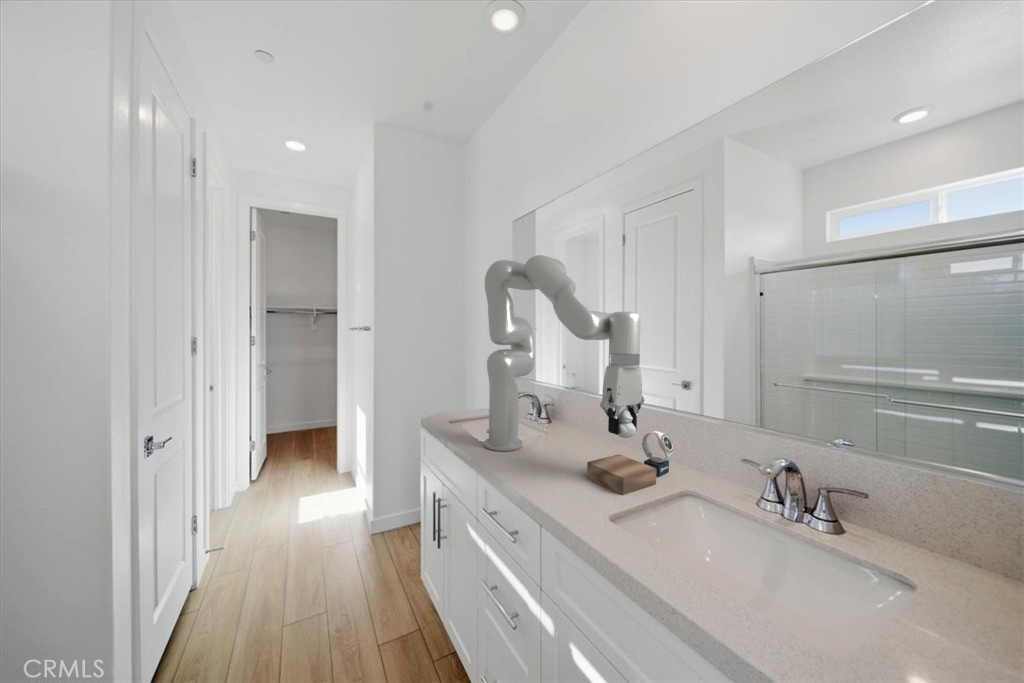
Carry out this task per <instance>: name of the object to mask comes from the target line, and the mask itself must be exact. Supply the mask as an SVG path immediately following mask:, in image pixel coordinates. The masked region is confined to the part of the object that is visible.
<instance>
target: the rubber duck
mask: <svg viewBox="0 0 1024 683" xmlns="http://www.w3.org/2000/svg"><path fill="white" fill-rule="evenodd" d="M618 418H619V419H620V433H619V434H618V435H617V436H618V437H620V438H624V439H630V438H632V437H633V436H634V435H636V432H637V430H636V428H635V426H634V425H633V424H632V423H630V422H631V421H632V419H633V418H632V417H631V415H630V412H629V411H628V410H627V406H625V408H624V409H622V411H620V412H619V415H618Z"/></svg>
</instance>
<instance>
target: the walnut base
mask: <svg viewBox="0 0 1024 683" xmlns="http://www.w3.org/2000/svg"><path fill="white" fill-rule="evenodd" d="M586 467H587V468H586V477H587V478H588V479H590V480H592V481H594V482H596V483H597V484H600V485H602V486H604V487H606V488H608V489H610V490H612V491H614V492H616V493H618V494H620V495H622V496H625V495H629V494H630V493H634V492H637V491H640V490H643V489H646V488H649V487H652V486H656V485H657V476H656V468H654V467H651V466H649V465H646V464H644V462H640V461H638V460H636V459H632V458H630V457H628V456H624V455H622V454H615V455H610V456H607V457H603V458H597V459H593V460H589V461H587V463H586Z"/></svg>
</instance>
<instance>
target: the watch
mask: <svg viewBox="0 0 1024 683" xmlns="http://www.w3.org/2000/svg"><path fill="white" fill-rule="evenodd" d="M651 434H653V435H656V437H657V442H658V445H659V447H660V449H661V451H662V452H664V456H666V457H665V458H660V457H657V456H654V455H653V452H652V450H651V447H650V444H649V442H648V438H649V436H650V435H651ZM641 446H642V449H643V452H644V454H645V455H646V457H647V458H648V459H645V460H644V461H643V464H646V465H649V466H651V467H654V468H656V478H657V477H658V478H661V477H663V476H664V475H666V474H668V473H669V472H670V460H669V459H671V457H672V455H673V453H674V449H675V447H674V444H673V440H672V439H671V437H670V436H669V435H667V434H666V433H664V432H661V431H659V430H654V431H651V432H648V433H645V434H644V436H643V438H642V442H641Z"/></svg>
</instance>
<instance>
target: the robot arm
mask: <svg viewBox="0 0 1024 683" xmlns="http://www.w3.org/2000/svg"><path fill="white" fill-rule="evenodd" d="M576 287H577V286H576V283H575V281H574V280H572V278H570V277H569V276H568V275H567V268H566V266H565V265H564V263H563V262H562V261H560V260H559V259H556V258H552V257H550V256H546V255H539V254H537V255H534V256H532V257H529V259H528V260H527V261H526V262H525V263H522V262H518V261H515V260H510V259H509V260H507V259H502V260H501V259H500V260H496V261H495V262H493V263H492V264H490V266H489V268H488V269H487V270H486V273H485V277H484V292H485V298H486V302H487V317H488V318H487V319H488V333H489V338H490V341H492V343H493V344H495V345H498V346H510V348H504V349H503V348H501V349H498V350H495V351H493V352H491V353H490V354H489V356H488V357H487V360H486V371H487V376H488V383H489V384H488V386H489V387H488V388H489V399H488V400H489V404H488V405H489V407H488V408H489V409H488V412H489V413H488V415H489V416H488V418H489V419H488V429H486V433H487V434H488V438H486V439H485V440H484V441H483V442H484V444H483V445H484V447H485V448H487V449H489V450H491V451H496V452H509V451H516V450H519V449H521V448H522V447H523V441H522V440H521V439H520V438H519V437H518V436H519V433H518V432H519V388H518V385H517V383H516V379H515V378H519V377H526V376H529V374H531V373H532V372H533V369H534V368H535V350H534V349H535V347H534V334H533V328H532V327H531V324H530V322H529V321H528V320H527V319H526V318H523V317H520V316H519V317H518V316H515V311H514V310H515V309H514V308H515V307H514V301H513V298H512V296H511V294H510V292H509V290H508V289H514V290H522V291H534V290H539V291H540V292H541V293H542V294H543V295H544V297H545V298H547V300H549V301H550V303H551V304H552V308H553V310H554V313H555V315H556V317H557V319H558V320H559V321H560V323H561V324H562V325H564V327H565V328H566V329H567V330H568V331H569V332H570V333H571V334H572V335H574V336H575V337H576V338H578V339H579V340H583V341H607V340H608V365H606V366H605V370H604V376H603V383H602V398H601V402H600V403H599V406H600V408H601V409H602V410H603V411H604V413H605V414H606V416H607V417H608V419H607V420H608V425H607V426H608V427H607V429H608V430H607V431H608V433H610V434H614V435H617V436H618V434H619V433H620V419H619V418H618V415H619V414H620V413H621V408H622V407H626V406H627V410H628V411H629V412H630V415H631V417H632V418H633V419H632V421H631V422H630V423H632V424H633V425H634V426H635V428H636V431H637V430H638V428H637V427H638V423H637V422H638V415H639V414H640V412H639V411H640V409H641V408H642V405H643V404H644V402H645V397H644V396H643V381H642V371H641V366H640V365H641V364H640V361H641V360H640V359H641V357H640V356H641V321H642V320H641V315H640V314H639V313H638V312H636V311H615V312H612V313H611V312H604V311H603V312H602V311H597V310H596V311H594V310H590V309H588V308H587V307H586V306H585V305H583V303H582V302H581V301H580V300H578V298H577V297H576V296H575V292H576Z"/></svg>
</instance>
